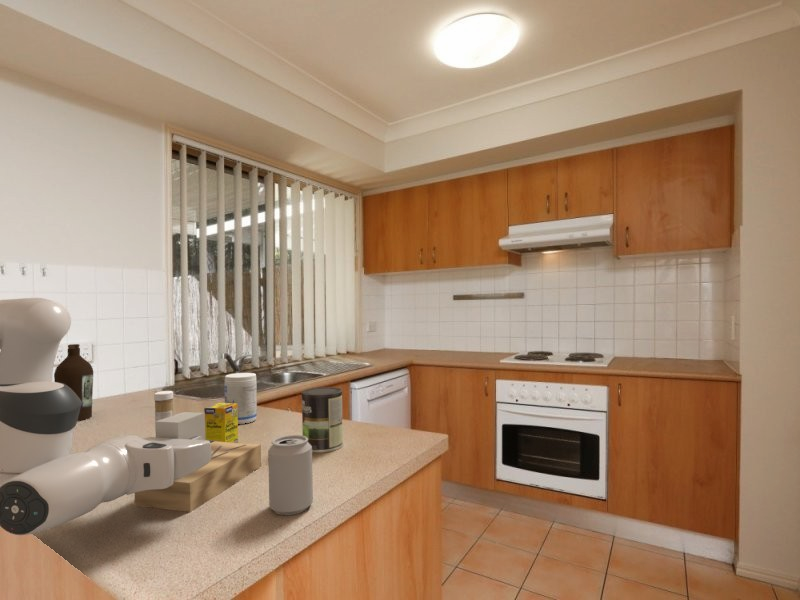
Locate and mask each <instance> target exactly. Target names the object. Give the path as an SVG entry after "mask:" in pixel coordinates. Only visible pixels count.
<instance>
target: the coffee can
mask: <svg viewBox="0 0 800 600" xmlns="http://www.w3.org/2000/svg"><path fill="white" fill-rule="evenodd" d="M300 393H301V394H300V395H301V415H302V416H301V421H302V424H301V425H302V436H305V437H307V438H308V441H307V442H308V443H309V444H310V445H311V446H312V454H313V453H316V454H323V453H331V452H334V451H337V450H339V449H341V448H343V446H344V442H343V441H344V440H343V438H344V437H343V435H344V434H343V430H344V429H343V389H342V388H340V387H335V386H333V387H332V386H321V387H312V388H307V389H304V390H302V391H301V392H300Z"/></svg>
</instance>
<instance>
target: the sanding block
mask: <svg viewBox="0 0 800 600" xmlns="http://www.w3.org/2000/svg"><path fill="white" fill-rule="evenodd" d="M154 424H155V425H154V428H155V427H156V431H155V437H158V438H174V439H189V438H191V437H194V436H202V438H203V440H206V439H205V413H204V412H191V411H190V412H188V411H183V412H180V413H176V414H173V416H170V417H167V418H164V419H161V420H158V421H155V420H154Z"/></svg>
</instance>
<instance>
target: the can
mask: <svg viewBox="0 0 800 600" xmlns="http://www.w3.org/2000/svg"><path fill="white" fill-rule="evenodd" d="M307 441H308V438H307V437H305V436H303V434H302V435H301V434H300V435H299V434H291V435H289V434H288V435H283V436H279V437H276V438H275V439H273V440H272V441H271V444H272V445H271V446H270V448H269V449H268V451H267V455H268V456H267V457H268V459H267V460H268V465H267V466H268V467H267V468H268V498H269V499H268V505H269V508H270V509H271V510H272V511H274V512H275V514H277V515H280V516H282V515H283V516H285V515H286V516H291V515H297V514H300V513H302V512H304V511H306V510H307V509H308V508H309V506H310V505H311V504H312V503H313V501H314V481H313V480H314V479H313V452H312V446H311V445H310V444H309V443H308V442H307Z"/></svg>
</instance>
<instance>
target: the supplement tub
mask: <svg viewBox="0 0 800 600" xmlns="http://www.w3.org/2000/svg"><path fill="white" fill-rule="evenodd" d="M257 384H258V383H257V374H256V373H254V372H238V373H236V372H235V373H229V374H226V375H225V376H224V403H237V404H238V424H240V425H246V424H245V423H247V424H249V423H250V422H251V423H253V422H255V421H256V420H257V418H258V417H257V415H258V413H257V412H258V409H257V408H258V400H257V396H258V395H257V392H258V391H257V389H258V388H257Z"/></svg>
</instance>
